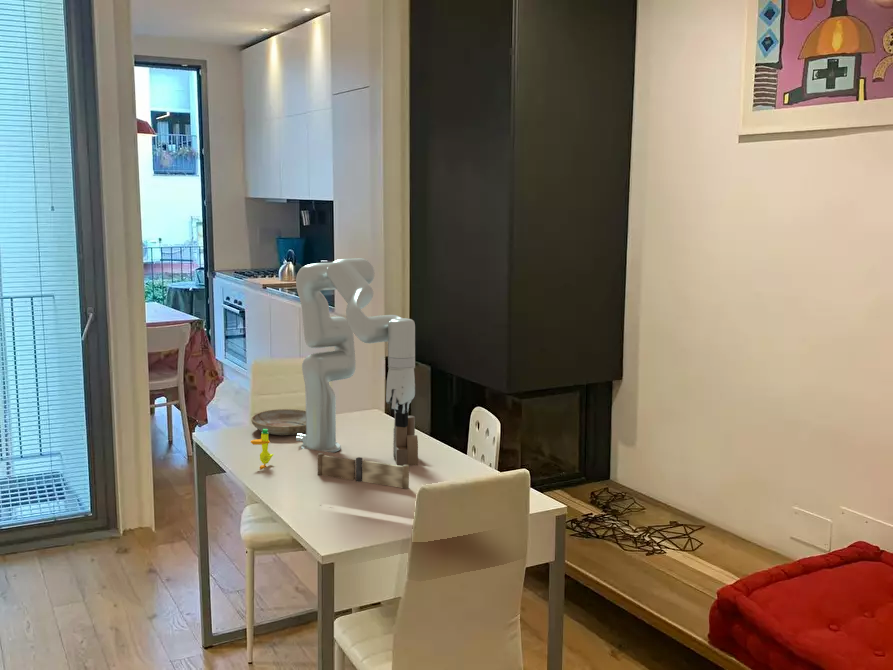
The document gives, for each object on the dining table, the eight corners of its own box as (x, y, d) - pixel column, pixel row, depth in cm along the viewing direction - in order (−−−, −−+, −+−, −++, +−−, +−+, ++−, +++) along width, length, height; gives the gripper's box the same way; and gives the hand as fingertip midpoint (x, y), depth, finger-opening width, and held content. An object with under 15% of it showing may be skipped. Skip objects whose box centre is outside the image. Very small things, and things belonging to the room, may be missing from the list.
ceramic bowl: (259, 443, 287) (259, 428, 286) (245, 425, 309) (245, 411, 308) (327, 436, 296) (327, 422, 296) (309, 419, 318) (309, 406, 317)
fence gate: (361, 482, 247) (361, 460, 246) (364, 480, 249) (364, 458, 248) (407, 489, 242) (407, 467, 241) (409, 487, 244) (410, 465, 243)
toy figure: (250, 470, 260) (250, 431, 258) (251, 466, 263) (250, 427, 261) (274, 469, 261) (273, 430, 259) (274, 465, 264) (273, 427, 262)
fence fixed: (316, 475, 253) (316, 453, 252) (319, 473, 254) (319, 451, 253) (360, 482, 247) (360, 459, 246) (363, 480, 249) (363, 457, 248)
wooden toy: (418, 469, 263) (420, 388, 259) (396, 470, 263) (397, 388, 258) (413, 454, 279) (414, 377, 274) (392, 454, 278) (393, 377, 274)
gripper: (400, 357, 253) (400, 419, 256) (377, 366, 239) (378, 431, 242) (424, 359, 250) (424, 421, 253) (402, 368, 236) (402, 434, 239)
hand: (401, 426), depth 247 cm, fingers closed
